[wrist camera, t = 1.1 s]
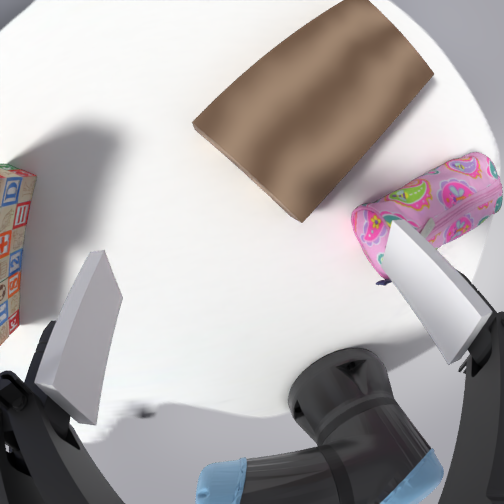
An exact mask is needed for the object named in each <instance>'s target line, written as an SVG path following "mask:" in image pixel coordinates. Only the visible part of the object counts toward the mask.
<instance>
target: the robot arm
mask: <svg viewBox="0 0 504 504" xmlns="http://www.w3.org/2000/svg"><path fill="white" fill-rule="evenodd" d="M381 268H382V269H383V270H384V271H385V273H386V274H387V275H388V277H389V278H390V279H391V281H392V282H393V283H394V285H395V286H396V287H397V289H398V290H399V292H400V293H401V294H402V296H403V297H404V298H405V300H406V301H407V303H408V304H409V305H410V307H411V308H412V310H413V311H414V313H415V314H416V315H417V317H418V318H419V320H420V321H421V323H422V324H423V326H424V327H425V329H426V330H427V332H428V333H429V335H430V336H431V338H432V339H433V341H434V342H435V344H436V346H437V347H438V348H439V350H440V352H441V354H442V355H443V357H444V358H445V360H446V362H447V363H448V365H450V364H451V363H453V362H456V361H458V360H459V359H461V357H462V356H463V355H464V353H465V352H466V351H467V350H468V351H469V353H470V355H469V356H468V357H467V359H466V360H465V361H464V363H463V364H462V365H461V366H460V368H459V372H461V371H462V369H463V368H464V367H465V366H466V369H465V370H464V372H463V373H465V374H466V380H465V391H464V400H463V407H462V414H461V420H460V426H459V431H458V436H457V441H456V445H455V450H454V454H453V458H452V462H451V466H450V469H449V472H448V476H447V479H446V482H445V485H444V488H443V491H442V494H441V497H440V500H439V502H438V504H504V312H499V313H497V312H496V311H495V310H494V308H493V307H492V306H491V305H490V304H489V302H488V301H487V300H486V299H485V298H484V296H483V295H482V294H481V293H480V292H479V291H477V289H476V287H475V286H474V285H473V284H471V282H470V281H469V279H468V278H467V277H466V276H465V275H464V274H462V273H461V272H459V271H458V270H456V269H455V268H454V267H453V266H452V265H451V264H450V263H449V262H448V261H447V260H446V259H445V258H444V257H443V256H442V255H441V254H440V253H439V252H438V251H437V250H436V249H435V248H434V247H433V246H432V245H431V244H430V243H429V242H428V241H427V240H426V239H425V238H424V237H423V236H422V235H421V234H420V233H419V232H417V231H416V230H415V229H414V228H413V227H412V226H411V225H410V224H409V223H408V222H406V221H405V220H404V219H403V220H392V223H391V228H390V232H389V237H388V241H387V245H386V249H385V253H384V256H383V260H382V264H381ZM122 299H123V296H122V294H121V292H120V289H119V287H118V284H117V282H116V279H115V277H114V274H113V272H112V269H111V266H110V264H109V261H108V258H107V255H106V253H105V250H101V251H94V252H90V253H89V255H88V257H87V258H86V260H85V262H84V264H83V266H82V268H81V270H80V272H79V274H78V276H77V278H76V280H75V282H74V284H73V286H72V288H71V290H70V292H69V294H68V296H67V298H66V300H65V303H64V305H63V307H62V309H61V312H60V314H59V316H58V319H57V321H51V322H50V323H49V324H48V326H47V327H46V328H45V329H44V331H43V333H42V335H41V338H40V340H39V344H38V345H37V348H36V353H34V356H33V359H32V361H31V364H30V367H29V370H28V373H27V376H26V379H25V382H23V381H22V380H21V379H20V378H19V377H18V376H17V375H16V374H15V373H13V372H12V371H4V372H2V373H0V504H125V503H124V502H123V501H122V500H121V498H120V497H119V496H118V495H117V493H116V492H115V491H114V490H113V488H112V487H111V486H110V484H109V483H108V482H107V480H106V479H105V477H104V476H103V475H102V473H101V472H100V470H99V469H98V467H97V466H96V464H95V463H94V461H93V460H92V458H91V457H90V455H89V454H88V452H87V451H86V449H85V447H84V446H83V444H82V442H81V441H80V439H79V437H78V435H77V434H76V432H75V430H74V428H73V427H72V426H71V424H70V423H69V422H70V416H71V417H72V418H73V419H74V420H76V421H77V422H78V423H82V424H89V425H96V424H97V417H98V410H99V403H100V397H101V391H102V385H103V380H104V374H105V369H106V364H107V360H108V355H109V350H110V346H111V342H112V337H113V333H114V329H115V325H116V321H117V317H118V314H119V310H120V306H121V303H122ZM288 404H289V408H290V410H291V413H292V416H293V418H294V419H295V421H296V422H297V423H298V425H299V426H300V427H301V428H302V429H303V430H304V431H305V432H306V433H307V434H308V435H309V436H310V437H311V438H312V439H313V440H314V441H315V442H316V443H317V445H318V447H313V448H309V449H304V450H300V451H295V452H290V453H284V454H278V455H272V456H266V457H259V458H250V459H246V458H240V459H239V460H235V461H227V462H218V463H212V464H209V465H207V466H206V467H205V468H204V469H203V470H202V471H201V473H200V476H199V479H198V484H197V491H196V504H418V503H419V502H420V501H422V500H423V499H424V498H425V497H427V496H428V495H429V494H430V493H431V492H432V491H433V490H434V489H435V488H436V487H437V486H438V485H439V484H440V482H441V480H442V478H443V474H444V471H443V467H442V465H441V464H440V462H439V460H438V459H437V457H436V455H435V453H434V449H431V447H430V446H429V445H428V443H427V442H426V441H425V439H424V438H423V437H422V435H421V434H420V433H419V432H418V430H417V429H416V427H415V426H414V425H413V423H412V422H411V421H410V419H409V418H408V417H407V415H406V414H405V413H404V412H403V410H402V409H401V408H400V406H399V405H398V403H397V402H396V401H395V399H394V397H393V393H392V389H391V385H390V382H389V378H388V374H387V370H386V368H385V366H384V364H383V363H382V362H381V361H380V360H379V358H378V357H377V356H376V355H375V354H374V353H372V352H371V351H369V350H366V349H360V348H352V349H345V350H341V351H337V352H334V353H332V354H329V355H327V356H325V357H323V358H321V359H319V360H318V361H316V362H315V363H313V364H312V365H311V366H309V367H308V368H307V369H306V370H305V371H303V372H302V373H301V375H300V376H299V377H298V378H297V379H296V381H295V382H294V384H293V385H292V387H291V389H290V392H289V396H288ZM5 444H6V445H8V446H9V452H7V451H6V448H5Z"/></svg>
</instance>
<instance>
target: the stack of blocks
mask: <svg viewBox="0 0 504 504" xmlns="http://www.w3.org/2000/svg"><path fill="white" fill-rule="evenodd" d="M36 178H37V176H36V175H34V174H32V173H29V172H26V171H24V170H20V169H18V168H15V167H13V166H11V165H8V164H0V345H1V344H2V343H3V342H4V341H5V340H6V339H7V338H8V337H9V335H10V334H11V333H12V332H14V331H15V329H16V328H17V327H18V326H19V300H20V291H19V290H20V277H21V270H20V269H21V260H22V251H23V248H22V247H23V241H24V234H25V227H26V224H27V218H28V213H29V208H30V203H31V199H32V195H33V190H34V186H35V182H36Z"/></svg>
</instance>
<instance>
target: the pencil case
mask: <svg viewBox="0 0 504 504" xmlns="http://www.w3.org/2000/svg"><path fill="white" fill-rule="evenodd" d="M502 193H503V192H502V184H501V183H500V177H499V175H497V171H496V169H495V166H494V164H493V162H492V161H491V160H490V159H489V158H488V157H487V156H486V155H484V154H481V153H479V152H473V153H469V154H467V155H465V156H463V157H462V158H458V159H453V160H450V161H448V162H446V163H444V164H443V165H441V166H439V167H437V168H435V169H433V170H431V171H429V172H428V173H426V174H424V175H422V176H420V177H418V178H416V179H414V180H413V181H411V182H409V183H408V184H406V185H405V186H404V187H402V188H400V189H399V190H397V191H394V192H392V193H390V194H388V195H386V196H385V197H383V198H381V199H379V200H378V201H376V202H375V203H368V204H362V205H360V206H358V207H357V208H356V209H354V211H353V212H352V216H351V222H352V226H353V231H354V233H355V235H356V237H357V239H358V241H359V243H360V245H361V247H362V249H363V252H364V254H365V255H366V257H367V259H368V260H369V262H370V263H371V265H372V266H373V267H374V268H375V270H376V271H377V272H378V273H379V275H380V276H381V277H383V278H384V279H385V280H381V281H378V282H377V283H376V284H377V285H386V284H388V283H391V282H392V281H391V279H390V278H389V277H388V275H387V274H386V273H385V271H384V270H383V269H382V268H381V264H382V260H383V256H384V253H385V249H386V245H387V241H388V237H389V232H390V228H391V223H392V220H403V219H404V220H405V221H406V222H408V223H409V224H410V225H411V226H412V227H413V228H414V229H415V230H416V231H417V232H419V233H420V234H421V235H422V236H423V237H424V238H425V239H426V240H427V241H428V242H429V243H430V244H431V245H432V246H433V247H434V248H435V249H436V250H437V249H438V248H439V247H440V246H441V245H443V244H446V243H448V242H451V241H453V240H455V239H457V238H459V237H460V236H462V235H464V234H465V233H467V232H469V231H471V230H472V229H474V228H476V227H477V226H478V225H480V224H481V223H482V222H483V221H484V220H486V219H487V218H488V217H489V216H490V215H491V214H495V213H497V212H498V211H499V210H500V208H501V205H502Z"/></svg>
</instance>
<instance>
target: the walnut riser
mask: <svg viewBox="0 0 504 504" xmlns="http://www.w3.org/2000/svg"><path fill="white" fill-rule="evenodd" d="M433 75H434V73H433V71H432V70H431V69H430V67H429V66H428V65H427V63H426V62H425V61H424V60H423V58H422V57H421V56H420V54H419V53H418V52H417V51H416V50H415V48H414V47H413V46H412V45H411V44H410V42H409V41H408V40H407V39H406V38H405V37H404V36H403V34H402V33H401V32H400V31H399V30H398V29H397V28H396V27H395V26H394V25H393V24H392V23H391V22H390V21H389V20H388V19H387V18H386V17H385V16H384V15H383V14H382V13H381V12H380V11H379V10H378V9H377V8H376V7H375V6H374V5H373V4H372V3H371V2H370V1H369V0H343V1H342V2H340V3H338V4H337V5H335V6H333V7H332V8H330V9H329V10H327V11H325V12H324V13H322V14H321V15H319V16H318V17H316V18H315V19H313V20H312V21H310V22H309V23H307V24H306V25H304V26H303V27H302V28H300V29H299V30H297V31H296V32H295V33H293V34H292V35H290V36H289V37H288V38H286V39H285V40H284V41H282V42H281V43H280V44H278V45H277V46H276V47H275V48H273V49H272V50H271V51H270V52H268V53H267V54H266V55H265V56H263V57H262V58H261V59H260V60H258V61H257V62H256V63H255V64H254V65H253V66H251V67H250V68H249V69H248V70H247V71H246V72H244V73H243V74H242V75H241V76H240V77H239V78H238V79H236V80H235V81H234V82H233V83H232V84H231V85H230V86H229V87H228V88H227V89H226V90H224V91H223V92H222V93H221V94H220V95H219V96H218V97H217V98H216V99H215V100H214V101H213V102H212V103H211V104H210V105H209V106H208V107H207V108H206V109H205V110H204V111H203V112H202V113H201V114H200V115H199V116H198V117H197V118H196V119H195V120H194V121H193V122H192V124H193V126H194V128H195V130H196V131H197V132H198V133H199V134H201V135H202V136H203V137H204V138H205V139H206V140H208V141H209V142H210V143H211V144H212V145H213V146H215V147H216V148H217V149H218V150H219V151H220V152H221V153H223V154H224V155H225V156H226V157H227V158H228V159H229V160H230V161H232V162H233V163H234V164H235V165H236V166H237V167H238V168H239V169H240V170H242V171H243V172H244V173H245V174H246V175H247V176H248V177H249V178H250V179H251V180H253V181H254V182H255V183H256V184H257V185H258V186H259V187H260V188H261V189H262V190H263V191H264V192H265V193H267V194H268V195H269V196H270V197H271V198H272V199H273V200H274V201H275V202H276V203H277V204H278V205H279V206H280V207H281V208H282V209H283V210H284V211H286V212H287V213H288V214H289V215H290V216H291V217H293V218H294V219H296V220H298V221H300V222H301V223H303V222H304V220H305V219H306V218H307V217H308V216H309V215H310V214H311V213H312V212H313V211H314V210H315V208H316V207H317V206H318V205H319V204H320V203H321V202H322V201H323V200H324V199H325V197H326V196H327V195H328V194H329V193H330V192H331V191H332V190H333V189H334V188H335V186H336V185H337V184H338V183H339V182H340V181H341V180H342V179H343V178H344V176H345V175H346V174H347V173H348V172H349V171H350V170H351V169H352V168H353V166H354V165H355V164H356V163H357V162H358V161H359V160H360V159H361V158H362V156H363V155H364V154H365V153H366V152H367V151H368V150H369V149H370V147H371V146H372V145H373V144H374V143H375V142H376V141H377V140H378V138H379V137H380V136H381V135H382V134H383V133H384V132H385V130H386V129H387V128H388V127H389V126H390V125H391V124H392V122H393V121H394V120H395V119H396V118H397V117H398V116H399V114H400V113H401V112H402V111H403V110H404V109H405V108H406V106H407V105H408V104H409V103H410V102H411V101H412V99H413V98H414V97H415V96H416V95H417V94H418V93H419V91H420V90H421V89H422V88H423V87H424V86H425V84H426V83H427V82H428V81H429V80H430V78H431V77H432V76H433Z"/></svg>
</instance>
